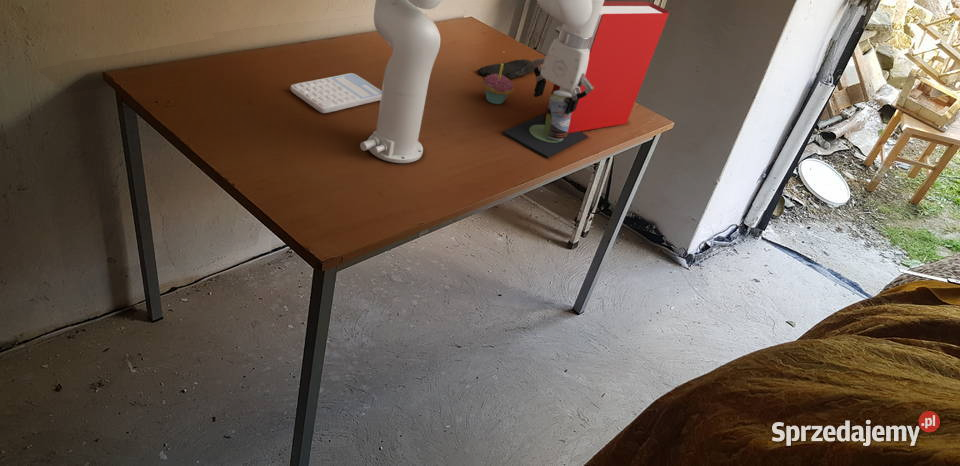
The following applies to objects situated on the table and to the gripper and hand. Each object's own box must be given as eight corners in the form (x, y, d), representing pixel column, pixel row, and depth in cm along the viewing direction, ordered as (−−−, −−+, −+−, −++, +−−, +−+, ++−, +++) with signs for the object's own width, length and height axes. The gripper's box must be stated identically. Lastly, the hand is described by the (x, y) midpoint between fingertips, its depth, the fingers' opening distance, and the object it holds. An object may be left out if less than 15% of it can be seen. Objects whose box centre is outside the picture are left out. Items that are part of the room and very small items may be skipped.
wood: (492, 83, 201) (494, 73, 199) (475, 72, 205) (477, 62, 203) (543, 74, 215) (546, 65, 214) (526, 64, 219) (529, 55, 218)
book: (563, 133, 183) (603, 13, 165) (543, 119, 187) (580, 1, 170) (629, 123, 200) (672, 13, 182) (609, 110, 204) (649, 1, 187)
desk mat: (547, 158, 171) (548, 156, 171) (502, 133, 177) (502, 131, 177) (587, 137, 186) (587, 135, 185) (544, 115, 191) (545, 112, 191)
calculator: (288, 90, 171) (288, 83, 170) (352, 77, 184) (353, 71, 183) (322, 115, 165) (322, 107, 164) (386, 99, 178) (387, 92, 177)
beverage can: (554, 145, 176) (567, 102, 170) (534, 131, 180) (546, 88, 174) (570, 141, 180) (584, 99, 174) (551, 127, 184) (563, 85, 178)
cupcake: (506, 110, 189) (517, 68, 182) (476, 101, 189) (485, 59, 182) (511, 98, 196) (522, 58, 189) (482, 90, 196) (492, 49, 189)
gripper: (536, 27, 167) (517, 92, 177) (597, 56, 160) (574, 122, 170) (553, 23, 173) (533, 87, 182) (612, 51, 166) (589, 116, 175)
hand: (553, 104), depth 176 cm, fingers open, 9 cm apart
